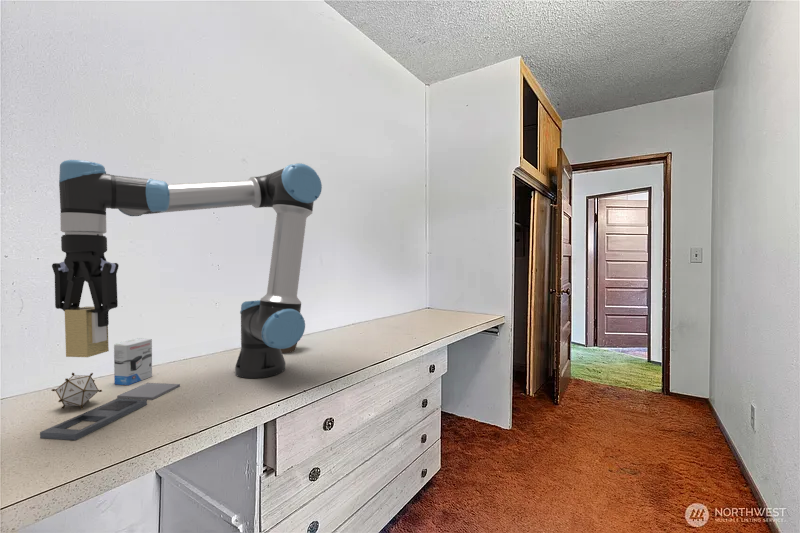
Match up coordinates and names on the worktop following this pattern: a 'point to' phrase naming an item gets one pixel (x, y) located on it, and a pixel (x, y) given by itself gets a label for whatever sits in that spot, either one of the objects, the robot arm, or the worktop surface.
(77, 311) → the brass block with hole
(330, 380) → the worktop surface
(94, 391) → the game die
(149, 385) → the pad
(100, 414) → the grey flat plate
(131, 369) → the ink box
